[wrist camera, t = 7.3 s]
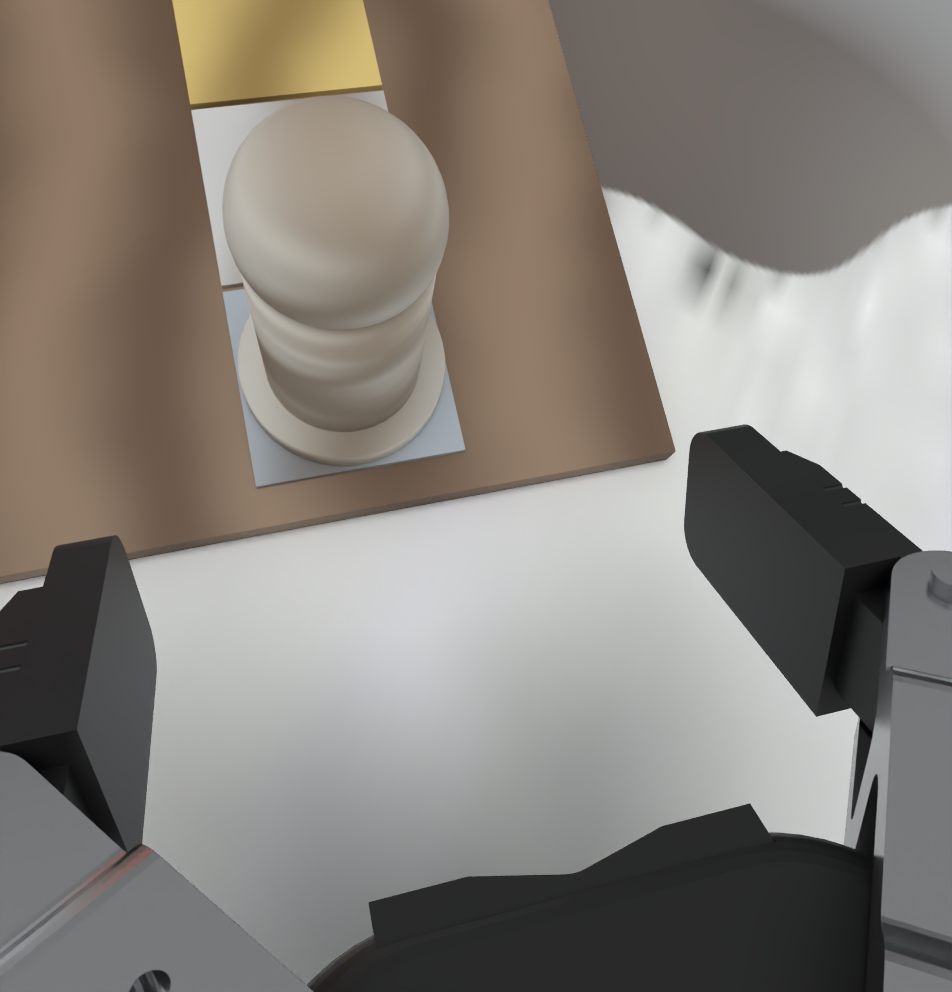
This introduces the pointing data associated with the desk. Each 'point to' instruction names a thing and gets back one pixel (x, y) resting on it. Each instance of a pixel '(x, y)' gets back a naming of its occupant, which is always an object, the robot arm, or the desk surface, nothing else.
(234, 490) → the game board
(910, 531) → the desk surface
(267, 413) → the pawn
